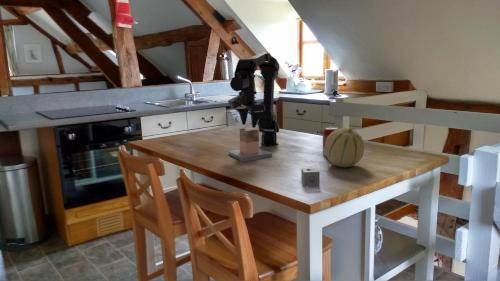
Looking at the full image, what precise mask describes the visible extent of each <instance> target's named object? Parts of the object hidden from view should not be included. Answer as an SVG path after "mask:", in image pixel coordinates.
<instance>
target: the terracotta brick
mask: <svg viewBox="0 0 500 281" xmlns="http://www.w3.org/2000/svg"><path fill="white" fill-rule="evenodd" d="M259 143H260V140H259V141H256V142H249V143H246V142H243V141H240V140H239V149H240V152H242V153H244V154H253V153H259V148H260V144H259Z"/></svg>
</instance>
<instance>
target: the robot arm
mask: <svg viewBox="0 0 500 281" xmlns="http://www.w3.org/2000/svg"><path fill="white" fill-rule="evenodd" d="M258 69H260V74H261V77H262V78H263V100H262V103H260V102H258V101H257V100H256V98H255V97H256V95H257V93H258V92H257V91H256V90H255V89H256V88H255V78H256V75H255V73H256V72H257V70H258ZM279 71H280V64H279V62H278V60H277V59H276V58H275V57H273V56H272V55H271V53H270V52H267V51H266V52H259V53H257V54H256V55H253V56H252V57H249V58H239V59H238V61H237V62H236V66H235V69H234V73H233V75H234V76H233V77H232V78H231V80H230V82H229V85H230V88H231V89H232V90H233V91H234V92H238V95H236V96H234V97H233V98H230V99H228V100H227V102H228V104H229V105H228V106H229V108H230V109H231V108H232V109H234V110H235V111H236V112H237V113H238V115H239V117H240V121H241V123H242V125H243V126H245V125H246V122H247V120H248V115H249V116H250V119H251V126H252V127H251V128H255V129H256V126H257V127H258V129H259V133H261V135H260V136H261V142H260V145H262V146H266V147H270V146H277V145H279V143H278V142H277V133H279V132H280V125H279V123H278V121H277V115H276V114H275V112H274V95H275V94H274V93H275V80H276V79H277V77H278V75H279Z"/></svg>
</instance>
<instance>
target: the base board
mask: <svg viewBox="0 0 500 281" xmlns="http://www.w3.org/2000/svg"><path fill="white" fill-rule="evenodd" d="M227 151H228V152H227V154H228V155H229V156H231V157H233V158H234V159H237V160H239V161H241V162H247V161H252V160H254V161H255V160H260V159H265V158H271V157H273V153H272V152H270V151H267V150H265V149H262V148H260V147H259V153H253V154H244V153H242V152H240V148H239V149H235V150H234V149H232V150H227Z"/></svg>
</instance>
